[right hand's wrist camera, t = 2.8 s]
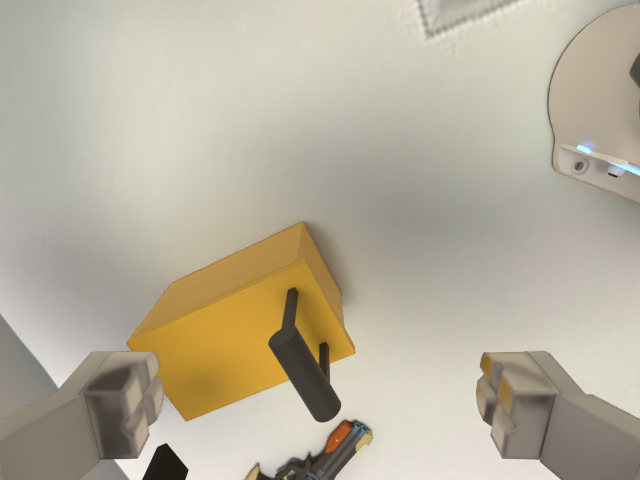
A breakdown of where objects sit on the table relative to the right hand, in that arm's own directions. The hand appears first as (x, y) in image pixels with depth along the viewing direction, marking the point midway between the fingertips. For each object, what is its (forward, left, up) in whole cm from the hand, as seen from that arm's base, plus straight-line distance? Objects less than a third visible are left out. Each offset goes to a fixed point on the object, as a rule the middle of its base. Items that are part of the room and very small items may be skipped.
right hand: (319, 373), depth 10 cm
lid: (-1, +16, -23) cm, 29 cm away
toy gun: (-19, +36, -34) cm, 53 cm away
